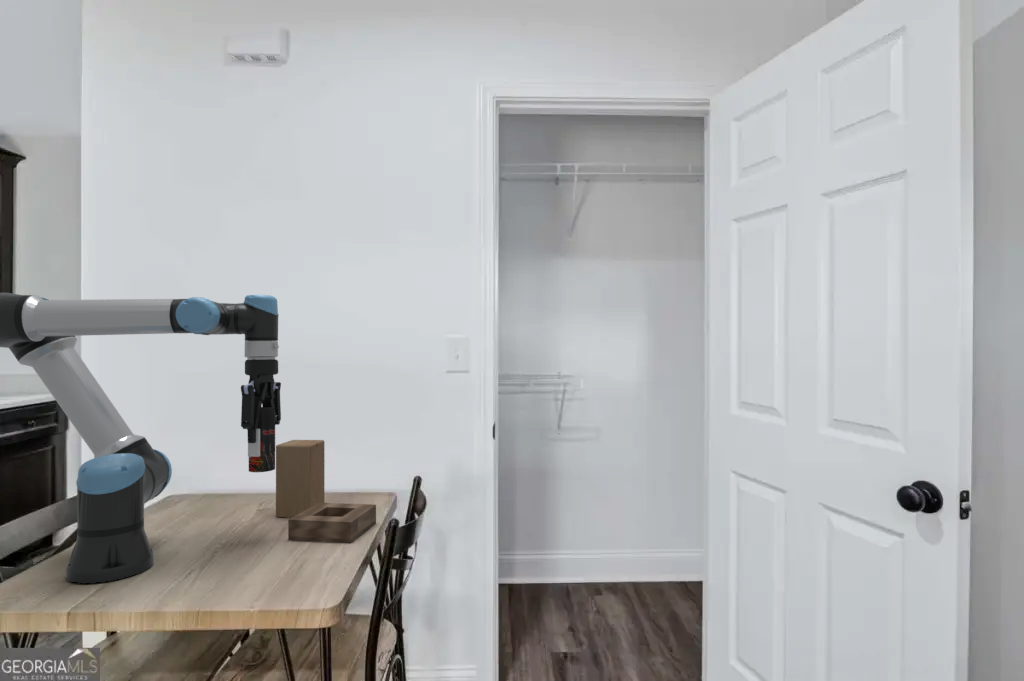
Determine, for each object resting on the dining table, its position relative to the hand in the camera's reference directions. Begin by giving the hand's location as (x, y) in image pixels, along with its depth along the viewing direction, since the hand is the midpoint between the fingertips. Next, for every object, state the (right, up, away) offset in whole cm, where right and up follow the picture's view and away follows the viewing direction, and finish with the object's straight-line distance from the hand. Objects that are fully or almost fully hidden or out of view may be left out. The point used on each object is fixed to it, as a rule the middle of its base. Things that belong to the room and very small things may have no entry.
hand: (261, 453), depth 143 cm
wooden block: (+1, -22, +23) cm, 32 cm away
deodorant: (0, -4, 0) cm, 4 cm away
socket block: (+16, -21, +6) cm, 27 cm away
